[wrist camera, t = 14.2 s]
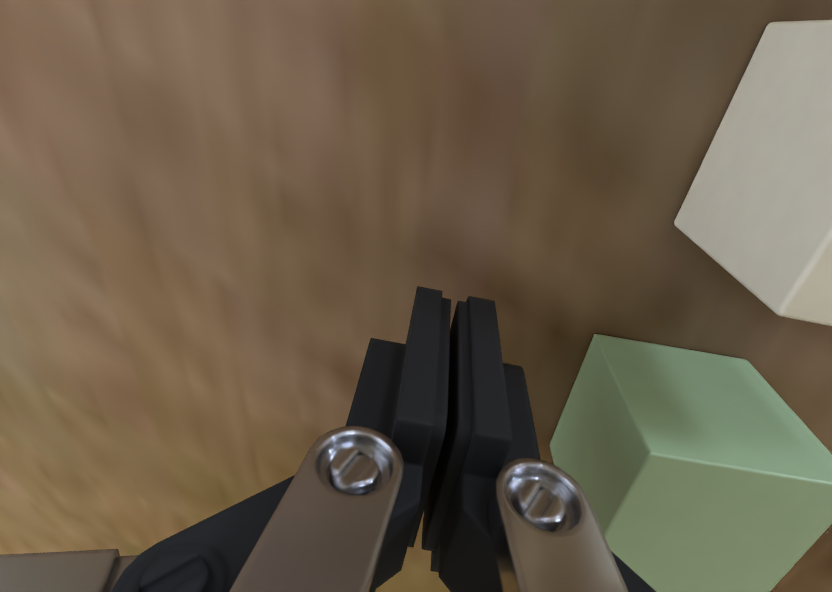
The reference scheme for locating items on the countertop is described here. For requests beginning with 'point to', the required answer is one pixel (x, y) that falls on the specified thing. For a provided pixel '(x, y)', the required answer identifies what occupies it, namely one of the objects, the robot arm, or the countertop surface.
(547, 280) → the countertop surface
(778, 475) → the sage block
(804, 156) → the cream block
